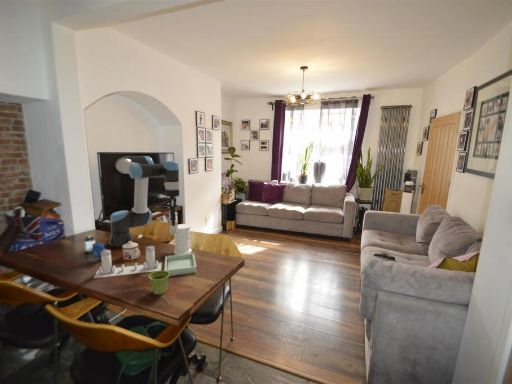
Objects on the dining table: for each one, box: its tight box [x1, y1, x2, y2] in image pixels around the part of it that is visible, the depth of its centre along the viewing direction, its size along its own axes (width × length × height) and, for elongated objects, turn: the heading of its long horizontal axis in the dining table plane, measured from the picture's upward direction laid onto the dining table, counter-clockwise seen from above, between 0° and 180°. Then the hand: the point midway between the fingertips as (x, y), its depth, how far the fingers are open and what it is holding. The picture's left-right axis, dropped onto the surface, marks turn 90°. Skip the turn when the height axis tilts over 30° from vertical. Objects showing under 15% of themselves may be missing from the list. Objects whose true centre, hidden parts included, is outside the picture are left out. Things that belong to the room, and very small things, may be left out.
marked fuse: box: [168, 211, 179, 235], centre depth 145 cm, size 5×5×12 cm
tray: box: [163, 252, 198, 277], centre depth 150 cm, size 20×17×3 cm
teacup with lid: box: [121, 241, 141, 261], centre depth 158 cm, size 12×9×12 cm
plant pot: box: [148, 270, 170, 295], centre depth 123 cm, size 9×9×9 cm
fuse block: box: [93, 245, 163, 279], centre depth 141 cm, size 10×33×14 cm, turn 107°
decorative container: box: [173, 223, 193, 255], centre depth 170 cm, size 12×12×18 cm
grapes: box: [91, 241, 108, 261], centre depth 154 cm, size 12×7×12 cm, turn 71°
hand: (173, 229), depth 146 cm, fingers closed on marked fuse, 5 cm apart
